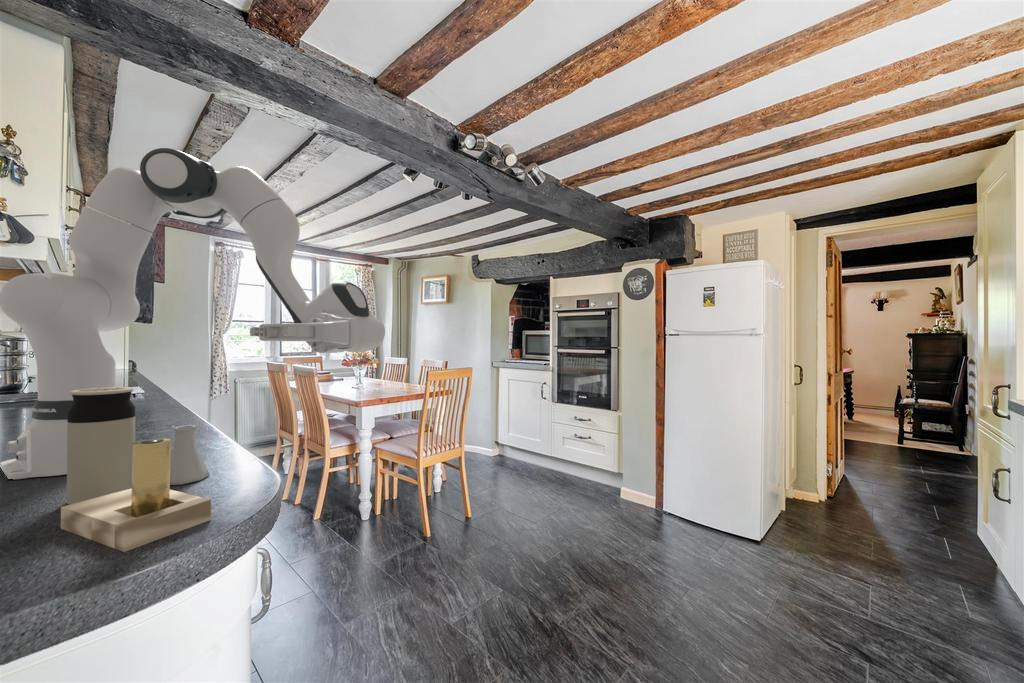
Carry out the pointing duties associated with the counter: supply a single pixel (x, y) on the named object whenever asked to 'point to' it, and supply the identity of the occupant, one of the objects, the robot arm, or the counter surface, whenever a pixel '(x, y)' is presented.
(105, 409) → the travel mug
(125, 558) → the counter surface
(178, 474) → the flask
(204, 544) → the counter surface
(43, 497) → the counter surface
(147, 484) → the gold metal post
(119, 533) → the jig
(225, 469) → the counter surface
